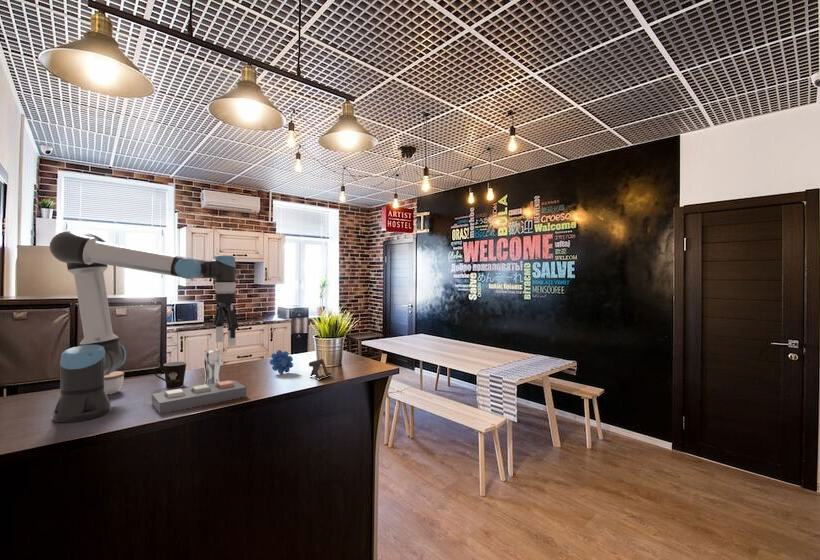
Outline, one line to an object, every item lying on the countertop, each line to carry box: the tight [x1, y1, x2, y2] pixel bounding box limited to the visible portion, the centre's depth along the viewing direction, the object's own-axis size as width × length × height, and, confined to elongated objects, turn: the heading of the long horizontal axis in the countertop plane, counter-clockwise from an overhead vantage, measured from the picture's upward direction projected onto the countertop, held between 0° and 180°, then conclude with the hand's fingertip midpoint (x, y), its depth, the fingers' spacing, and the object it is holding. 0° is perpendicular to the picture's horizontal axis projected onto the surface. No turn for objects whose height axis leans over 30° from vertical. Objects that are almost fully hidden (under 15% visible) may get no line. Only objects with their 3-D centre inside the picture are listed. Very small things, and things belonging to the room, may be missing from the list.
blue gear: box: [269, 349, 294, 374], centre depth 192 cm, size 12×7×12 cm, turn 121°
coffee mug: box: [153, 361, 187, 389], centre depth 168 cm, size 12×9×10 cm
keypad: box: [151, 379, 247, 415], centre depth 150 cm, size 30×14×4 cm, turn 134°
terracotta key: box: [217, 380, 234, 389], centre depth 156 cm, size 5×5×3 cm
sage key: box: [191, 384, 210, 394], centre depth 150 cm, size 5×5×3 cm
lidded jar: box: [104, 370, 125, 396], centre depth 157 cm, size 11×11×9 cm
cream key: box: [164, 388, 184, 398], centre depth 143 cm, size 5×5×3 cm
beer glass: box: [203, 349, 222, 385], centre depth 173 cm, size 7×7×15 cm
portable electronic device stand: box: [308, 358, 332, 379], centre depth 186 cm, size 9×8×8 cm
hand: (225, 344), depth 157 cm, fingers open, 13 cm apart
